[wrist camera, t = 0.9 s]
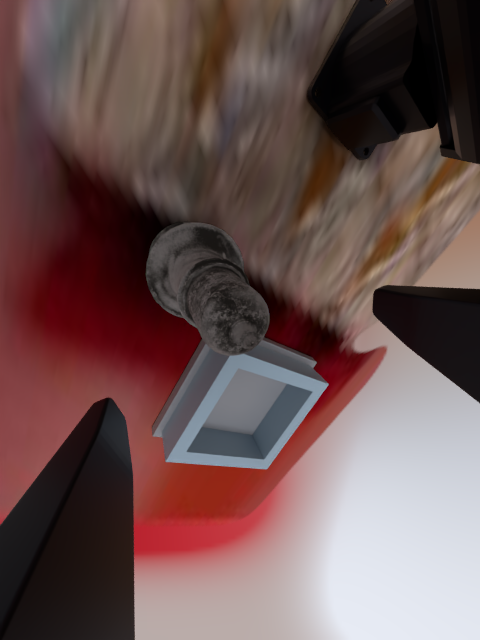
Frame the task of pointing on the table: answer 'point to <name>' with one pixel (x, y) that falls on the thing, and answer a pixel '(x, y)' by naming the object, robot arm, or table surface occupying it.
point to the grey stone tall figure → (207, 286)
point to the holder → (238, 406)
